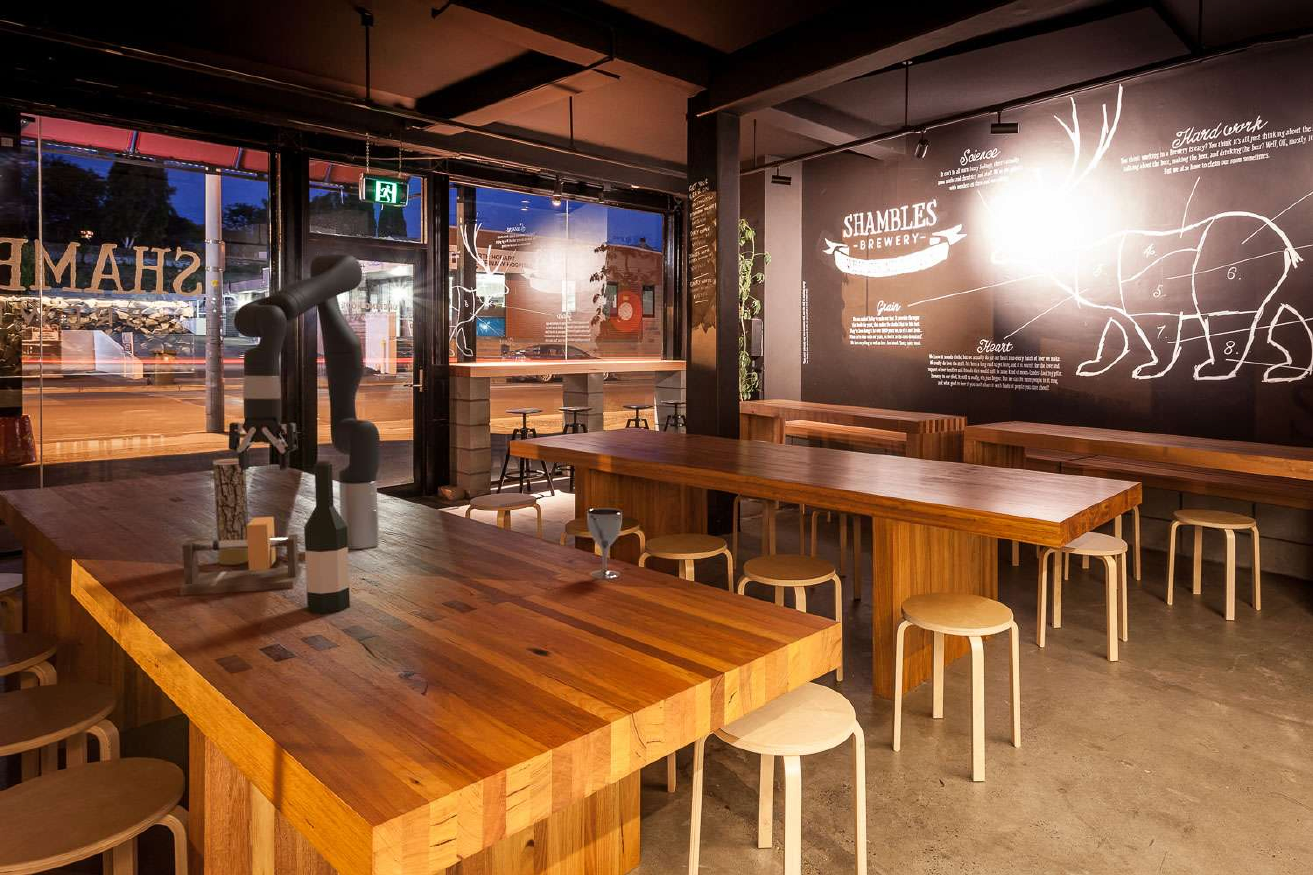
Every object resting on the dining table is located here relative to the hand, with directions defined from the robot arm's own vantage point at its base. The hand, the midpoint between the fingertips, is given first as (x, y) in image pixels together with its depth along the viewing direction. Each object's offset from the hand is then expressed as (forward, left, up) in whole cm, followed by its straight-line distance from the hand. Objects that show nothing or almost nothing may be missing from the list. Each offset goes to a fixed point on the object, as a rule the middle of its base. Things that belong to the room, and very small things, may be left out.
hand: (264, 469), depth 182 cm
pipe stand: (+5, +2, -25) cm, 26 cm away
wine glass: (-74, +14, -25) cm, 80 cm away
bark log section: (+11, -18, -25) cm, 33 cm away
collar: (+1, +2, -21) cm, 21 cm away
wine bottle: (-15, +24, -25) cm, 38 cm away
